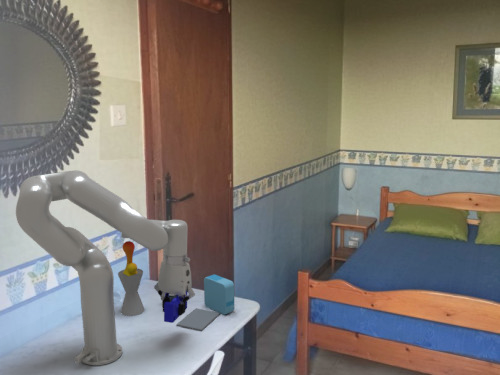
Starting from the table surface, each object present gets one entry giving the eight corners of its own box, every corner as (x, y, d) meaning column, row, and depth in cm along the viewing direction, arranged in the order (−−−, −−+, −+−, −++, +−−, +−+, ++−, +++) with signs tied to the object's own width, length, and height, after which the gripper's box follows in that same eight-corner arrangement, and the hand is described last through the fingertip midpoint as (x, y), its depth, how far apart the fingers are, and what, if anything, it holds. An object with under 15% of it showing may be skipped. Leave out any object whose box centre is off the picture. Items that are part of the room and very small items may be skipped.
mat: (201, 331, 171) (201, 329, 171) (176, 326, 175) (176, 324, 175) (220, 314, 184) (220, 312, 184) (195, 309, 188) (195, 308, 187)
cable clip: (174, 306, 170) (174, 289, 169) (187, 308, 169) (187, 291, 168) (159, 320, 158) (159, 302, 157) (172, 322, 157) (173, 304, 156)
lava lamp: (115, 310, 188) (109, 219, 181) (137, 303, 193) (132, 215, 187) (127, 318, 181) (122, 224, 174) (149, 310, 187) (145, 219, 180)
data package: (234, 312, 185) (234, 281, 183) (225, 316, 182) (225, 285, 180) (213, 302, 194) (212, 273, 191) (204, 306, 190) (203, 276, 188)
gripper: (204, 259, 161) (202, 313, 164) (158, 251, 167) (157, 303, 170) (192, 266, 154) (191, 322, 157) (145, 257, 160) (145, 311, 163)
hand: (173, 311), depth 164 cm, fingers closed on cable clip, 5 cm apart
